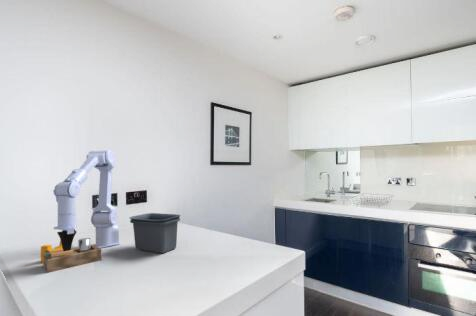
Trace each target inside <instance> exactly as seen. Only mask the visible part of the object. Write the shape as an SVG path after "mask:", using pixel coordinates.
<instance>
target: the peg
mask: <svg viewBox="0 0 476 316" xmlns="http://www.w3.org/2000/svg"><path fill="white" fill-rule="evenodd" d="M77 242H78V243H77V244H78V245H77V246H78V247H77V248H78V253H80V252H85V251H90V245H91V238H90V237H84V238H79V239H78V241H77Z"/></svg>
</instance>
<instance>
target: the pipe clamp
mask: <svg viewBox="0 0 476 316" xmlns="http://www.w3.org/2000/svg"><path fill="white" fill-rule="evenodd" d="M52 247H53V246H52V244H43V245H41V246H40V264H44V254H45V251H48V250H49V252H52V251H58V250H63V248H62V243H61V240H60V239H59V245H58V246H56V247H53V248H52Z"/></svg>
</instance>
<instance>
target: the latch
mask: <svg viewBox="0 0 476 316" xmlns="http://www.w3.org/2000/svg"><path fill="white" fill-rule="evenodd" d="M72 249H73V248H71V250H68V251H63V250H58V251H52V252H46V253H45V255H46V257H47V254H51V257H55V256H61V255H67V254H72V253H74V251H73V250H72Z"/></svg>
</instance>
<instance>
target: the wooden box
mask: <svg viewBox="0 0 476 316" xmlns="http://www.w3.org/2000/svg"><path fill="white" fill-rule="evenodd" d="M71 249H72V250H73V251H74V253H72V254H67V255H61V256H55V257H51V254H47V257H46V255H45V254H44V263H43V266H44V268H45V270H46V273H51V272H52V273H53V272H56V271H61V270H64V269H69V268H73V267H77V266H82V265H85V264H90V263H96V262H100V261H102V248H98V247H97V246H96V245H93V244H90V251H85V252H80V253H78V247H75V248H71ZM46 252H49V250H48V251H45V253H46Z"/></svg>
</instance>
